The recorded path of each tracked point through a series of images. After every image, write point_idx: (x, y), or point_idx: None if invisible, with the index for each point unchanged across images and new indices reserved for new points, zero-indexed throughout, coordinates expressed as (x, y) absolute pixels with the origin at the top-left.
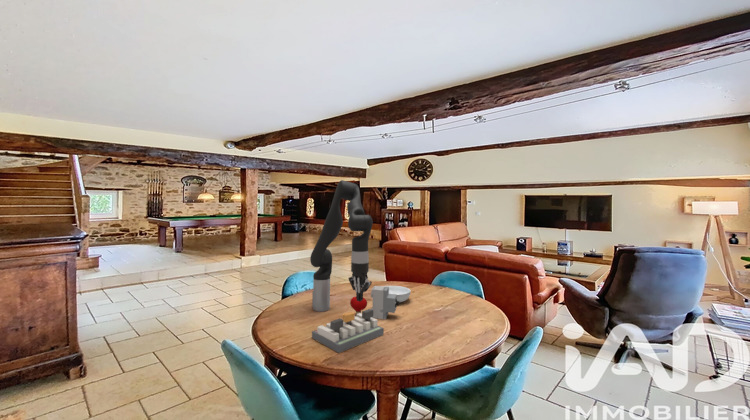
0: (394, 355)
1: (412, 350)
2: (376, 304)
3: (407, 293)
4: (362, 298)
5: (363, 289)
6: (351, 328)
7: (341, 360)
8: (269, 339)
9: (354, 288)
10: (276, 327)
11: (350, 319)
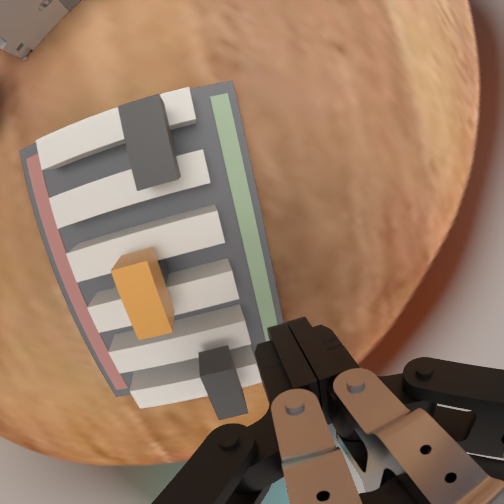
0: (402, 174)
1: (405, 95)
2: (11, 12)
3: None
4: (333, 338)
5: (453, 426)
6: (230, 293)
7: None
8: (99, 456)
9: (270, 483)
10: (21, 421)
11: (162, 281)
